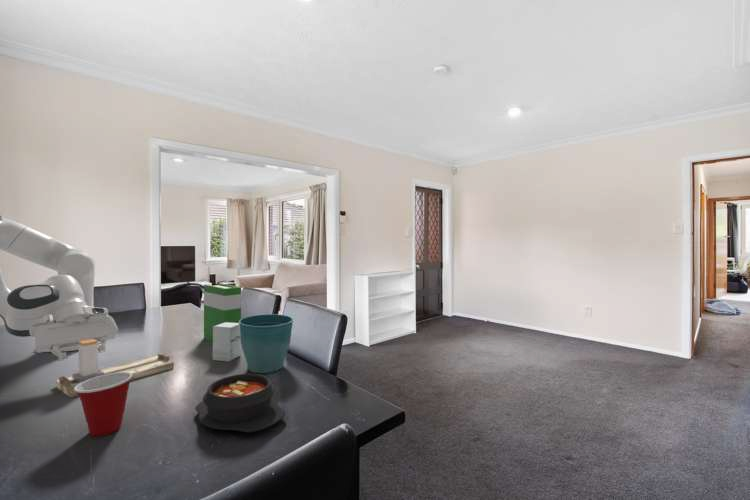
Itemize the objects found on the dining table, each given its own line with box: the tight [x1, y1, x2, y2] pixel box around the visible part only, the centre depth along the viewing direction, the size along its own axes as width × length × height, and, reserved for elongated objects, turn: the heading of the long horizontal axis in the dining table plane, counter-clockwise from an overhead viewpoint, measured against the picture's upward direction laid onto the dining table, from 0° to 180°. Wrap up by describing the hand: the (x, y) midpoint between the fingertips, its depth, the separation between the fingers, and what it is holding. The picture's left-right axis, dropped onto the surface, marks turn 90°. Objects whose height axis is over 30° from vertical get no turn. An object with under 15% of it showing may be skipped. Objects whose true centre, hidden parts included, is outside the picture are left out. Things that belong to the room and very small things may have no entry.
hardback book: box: [203, 282, 242, 342], centre depth 154 cm, size 18×7×24 cm, turn 52°
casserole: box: [195, 373, 286, 433], centre depth 89 cm, size 25×19×8 cm
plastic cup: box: [74, 372, 132, 437], centre depth 82 cm, size 11×11×12 cm
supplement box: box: [212, 322, 242, 362], centre depth 132 cm, size 7×7×13 cm
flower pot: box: [239, 313, 294, 374], centre depth 123 cm, size 18×18×17 cm
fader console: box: [55, 352, 175, 398], centre depth 113 cm, size 12×28×4 cm, turn 146°
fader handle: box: [71, 339, 104, 383], centre depth 106 cm, size 6×6×11 cm
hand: (83, 355), depth 106 cm, fingers open, 8 cm apart
